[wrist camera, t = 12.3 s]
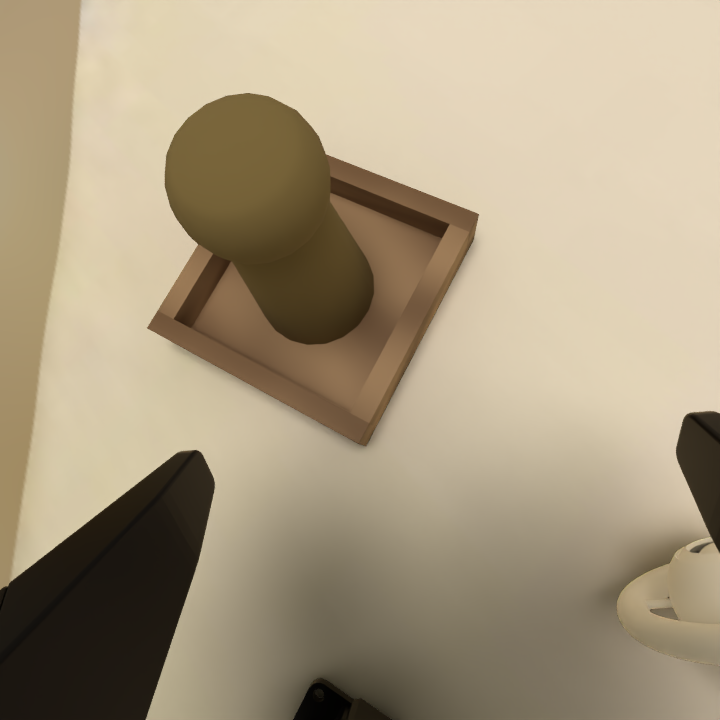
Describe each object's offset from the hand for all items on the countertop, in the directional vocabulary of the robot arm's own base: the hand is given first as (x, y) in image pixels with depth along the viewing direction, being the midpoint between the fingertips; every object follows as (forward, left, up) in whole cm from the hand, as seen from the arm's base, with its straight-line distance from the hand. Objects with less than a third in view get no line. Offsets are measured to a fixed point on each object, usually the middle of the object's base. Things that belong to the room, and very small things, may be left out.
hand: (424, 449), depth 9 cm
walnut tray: (+5, +9, -14) cm, 17 cm away
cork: (+5, +9, -13) cm, 17 cm away
